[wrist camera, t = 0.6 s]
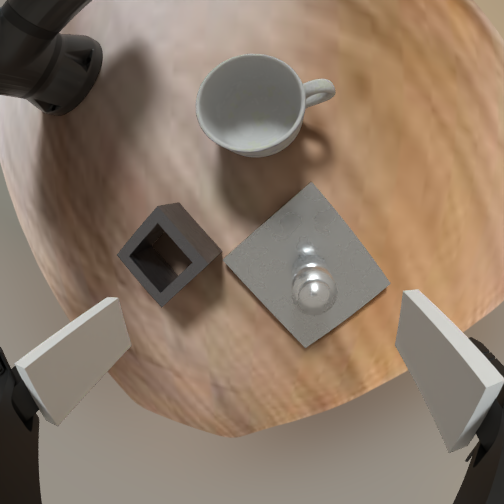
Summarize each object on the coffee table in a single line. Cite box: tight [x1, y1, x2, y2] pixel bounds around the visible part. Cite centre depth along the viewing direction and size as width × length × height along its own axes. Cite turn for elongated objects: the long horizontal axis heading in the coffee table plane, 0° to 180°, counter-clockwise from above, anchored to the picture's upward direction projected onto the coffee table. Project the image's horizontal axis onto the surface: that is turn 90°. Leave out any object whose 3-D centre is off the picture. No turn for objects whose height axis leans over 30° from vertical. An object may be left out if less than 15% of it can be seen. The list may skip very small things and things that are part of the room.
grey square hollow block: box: [117, 203, 222, 307], centre depth 33 cm, size 8×8×6 cm
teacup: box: [196, 54, 335, 157], centre depth 26 cm, size 14×11×8 cm
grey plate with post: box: [223, 182, 391, 348], centre depth 29 cm, size 16×14×10 cm
